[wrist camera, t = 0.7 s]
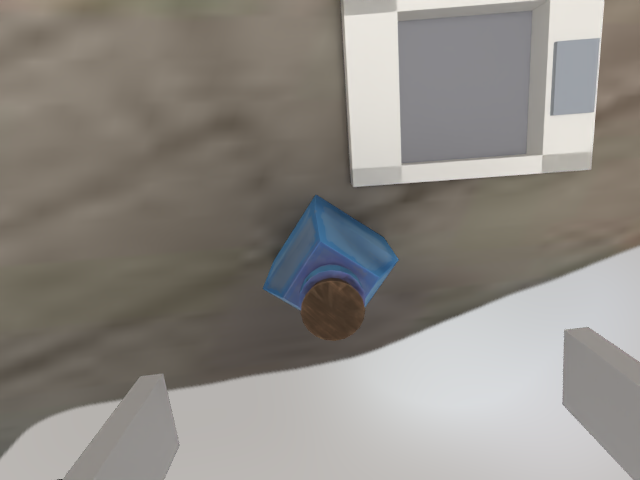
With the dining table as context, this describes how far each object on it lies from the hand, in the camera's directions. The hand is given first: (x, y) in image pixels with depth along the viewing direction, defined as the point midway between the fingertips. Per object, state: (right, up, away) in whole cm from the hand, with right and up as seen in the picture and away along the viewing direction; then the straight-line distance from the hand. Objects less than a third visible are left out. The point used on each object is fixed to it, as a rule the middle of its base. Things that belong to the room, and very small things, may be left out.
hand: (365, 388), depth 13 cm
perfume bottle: (-1, +4, +19) cm, 19 cm away
